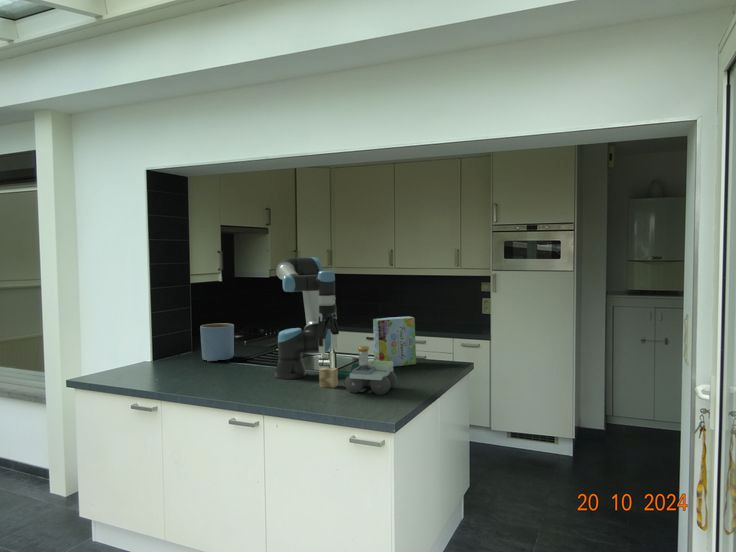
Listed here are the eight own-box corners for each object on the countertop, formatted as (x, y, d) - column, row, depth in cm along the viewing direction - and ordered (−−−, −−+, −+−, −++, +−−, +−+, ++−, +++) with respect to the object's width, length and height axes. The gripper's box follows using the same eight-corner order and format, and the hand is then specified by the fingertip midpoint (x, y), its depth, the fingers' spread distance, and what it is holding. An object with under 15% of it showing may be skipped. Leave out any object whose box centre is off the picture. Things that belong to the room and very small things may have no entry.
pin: (357, 373, 236) (356, 347, 235) (360, 370, 240) (360, 346, 239) (367, 373, 234) (366, 348, 234) (370, 371, 238) (370, 346, 238)
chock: (319, 386, 250) (319, 369, 249) (324, 384, 254) (323, 367, 254) (333, 387, 247) (333, 370, 247) (337, 385, 252) (337, 368, 252)
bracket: (369, 377, 267) (369, 361, 267) (363, 380, 261) (362, 364, 261) (338, 374, 276) (338, 358, 275) (331, 377, 270) (331, 361, 269)
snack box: (409, 362, 302) (409, 315, 301) (416, 364, 294) (416, 317, 293) (373, 365, 294) (372, 318, 293) (379, 368, 286) (378, 319, 285)
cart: (342, 393, 236) (342, 369, 236) (357, 384, 253) (357, 361, 253) (386, 397, 230) (386, 372, 229) (398, 386, 247) (398, 363, 246)
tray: (362, 370, 241) (362, 364, 241) (370, 365, 251) (370, 360, 251) (386, 371, 238) (386, 365, 238) (393, 366, 247) (393, 361, 247)
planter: (204, 356, 328) (203, 323, 327) (236, 355, 330) (235, 322, 329) (198, 363, 309) (197, 328, 308) (232, 361, 311) (231, 327, 310)
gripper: (323, 307, 236) (324, 356, 237) (345, 302, 259) (346, 346, 260) (307, 307, 239) (308, 355, 239) (330, 302, 262) (331, 346, 263)
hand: (328, 350), depth 250 cm, fingers open, 13 cm apart
